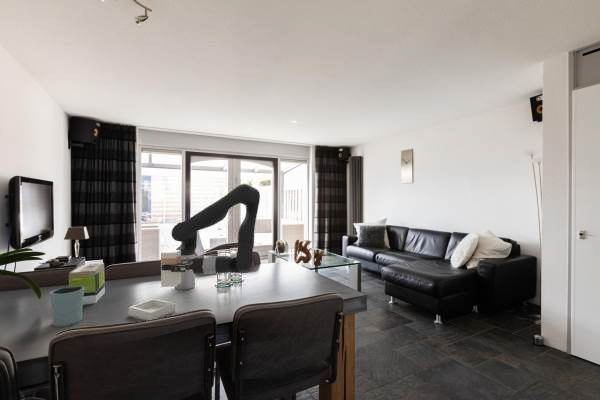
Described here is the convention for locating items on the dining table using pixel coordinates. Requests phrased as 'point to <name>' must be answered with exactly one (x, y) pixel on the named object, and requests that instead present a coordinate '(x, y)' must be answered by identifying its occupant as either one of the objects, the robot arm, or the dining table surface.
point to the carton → (166, 275)
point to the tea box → (89, 281)
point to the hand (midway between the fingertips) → (165, 265)
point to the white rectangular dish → (151, 309)
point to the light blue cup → (67, 305)
